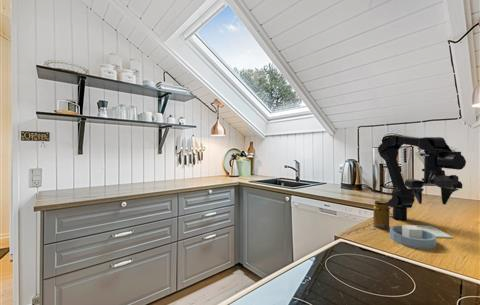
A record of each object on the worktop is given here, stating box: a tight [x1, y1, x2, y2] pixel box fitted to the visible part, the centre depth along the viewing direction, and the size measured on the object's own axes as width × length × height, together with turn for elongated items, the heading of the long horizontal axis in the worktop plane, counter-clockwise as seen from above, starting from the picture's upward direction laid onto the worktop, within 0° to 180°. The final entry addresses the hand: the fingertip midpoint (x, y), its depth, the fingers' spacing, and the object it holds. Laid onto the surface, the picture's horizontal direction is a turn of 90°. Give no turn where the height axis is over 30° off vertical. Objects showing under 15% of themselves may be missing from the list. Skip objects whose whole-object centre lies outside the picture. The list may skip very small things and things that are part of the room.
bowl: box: [389, 225, 437, 250], centre depth 86 cm, size 14×14×4 cm
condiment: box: [370, 200, 390, 230], centre depth 100 cm, size 7×8×12 cm
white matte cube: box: [401, 224, 422, 239], centre depth 86 cm, size 4×4×4 cm
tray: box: [411, 224, 453, 239], centre depth 95 cm, size 12×10×1 cm
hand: (432, 204), depth 95 cm, fingers open, 9 cm apart
